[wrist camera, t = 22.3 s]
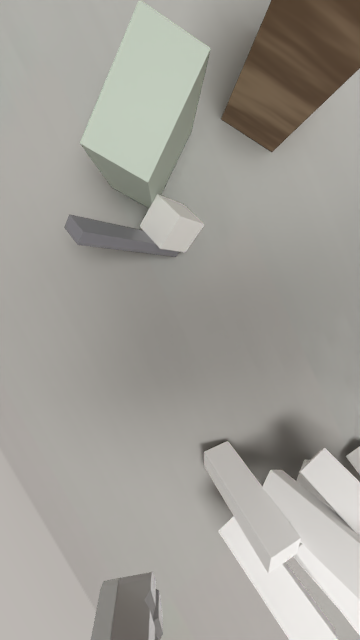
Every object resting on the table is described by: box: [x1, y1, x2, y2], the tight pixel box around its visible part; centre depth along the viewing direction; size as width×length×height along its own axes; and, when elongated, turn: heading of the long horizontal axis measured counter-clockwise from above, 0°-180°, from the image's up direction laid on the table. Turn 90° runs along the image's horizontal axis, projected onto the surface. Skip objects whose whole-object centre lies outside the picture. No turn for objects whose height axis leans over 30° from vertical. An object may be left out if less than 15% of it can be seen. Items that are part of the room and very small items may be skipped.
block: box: [80, 0, 211, 208], centre depth 33 cm, size 12×7×16 cm, turn 152°
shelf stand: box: [221, 0, 360, 152], centre depth 26 cm, size 12×9×29 cm
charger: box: [64, 194, 205, 257], centre depth 35 cm, size 17×5×7 cm
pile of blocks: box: [204, 441, 360, 640], centre depth 45 cm, size 35×30×35 cm
